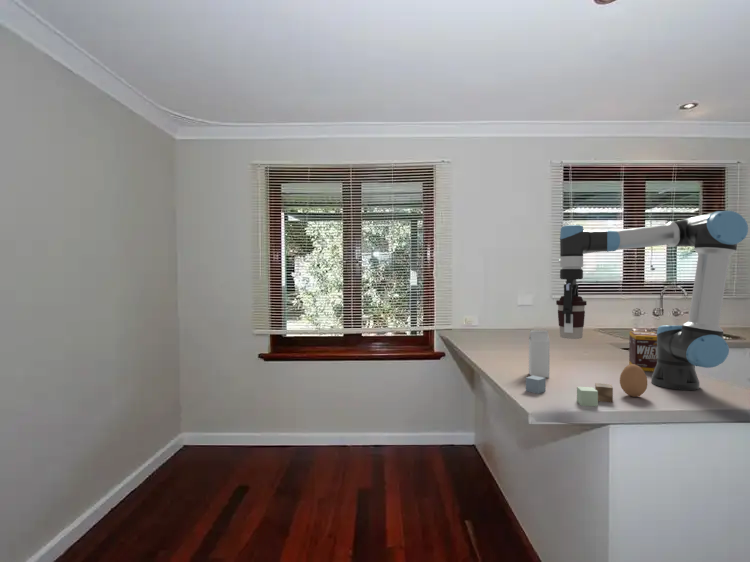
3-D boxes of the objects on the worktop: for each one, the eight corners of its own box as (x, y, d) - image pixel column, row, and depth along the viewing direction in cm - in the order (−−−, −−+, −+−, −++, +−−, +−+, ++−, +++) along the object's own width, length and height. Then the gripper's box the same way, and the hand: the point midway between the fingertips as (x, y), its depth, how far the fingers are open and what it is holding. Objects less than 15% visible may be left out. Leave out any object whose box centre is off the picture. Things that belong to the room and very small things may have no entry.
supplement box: (634, 370, 189) (635, 335, 189) (628, 363, 204) (629, 330, 203) (662, 372, 185) (662, 336, 185) (654, 365, 200) (654, 331, 199)
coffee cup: (550, 336, 157) (550, 295, 157) (570, 335, 161) (570, 295, 161) (572, 340, 148) (572, 297, 148) (592, 338, 152) (592, 296, 152)
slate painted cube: (545, 391, 157) (545, 377, 157) (538, 394, 154) (538, 380, 154) (532, 388, 161) (532, 375, 161) (525, 391, 157) (525, 377, 157)
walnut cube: (611, 398, 148) (611, 384, 147) (612, 402, 143) (612, 388, 143) (595, 397, 150) (595, 382, 150) (595, 401, 145) (595, 386, 145)
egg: (636, 401, 144) (637, 367, 144) (614, 394, 152) (614, 363, 152) (652, 398, 148) (653, 365, 148) (630, 392, 155) (630, 361, 155)
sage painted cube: (592, 402, 144) (592, 387, 144) (597, 406, 139) (597, 391, 139) (576, 401, 145) (576, 386, 145) (581, 405, 140) (581, 390, 140)
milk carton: (549, 378, 176) (549, 332, 176) (531, 377, 178) (531, 331, 177) (546, 373, 183) (546, 329, 183) (528, 373, 185) (528, 329, 184)
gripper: (566, 268, 165) (566, 326, 166) (553, 268, 147) (553, 333, 148) (587, 268, 161) (587, 328, 161) (577, 268, 143) (577, 335, 144)
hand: (571, 330), depth 155 cm, fingers closed on coffee cup, 9 cm apart
